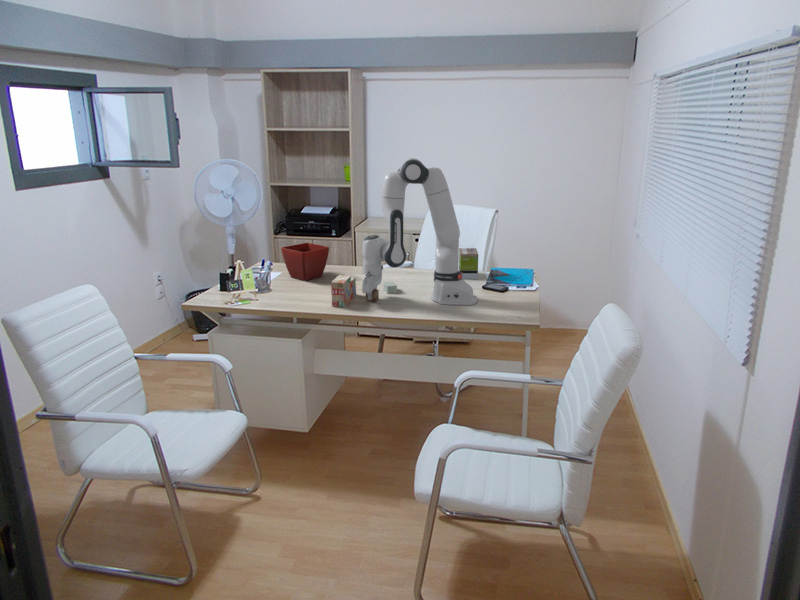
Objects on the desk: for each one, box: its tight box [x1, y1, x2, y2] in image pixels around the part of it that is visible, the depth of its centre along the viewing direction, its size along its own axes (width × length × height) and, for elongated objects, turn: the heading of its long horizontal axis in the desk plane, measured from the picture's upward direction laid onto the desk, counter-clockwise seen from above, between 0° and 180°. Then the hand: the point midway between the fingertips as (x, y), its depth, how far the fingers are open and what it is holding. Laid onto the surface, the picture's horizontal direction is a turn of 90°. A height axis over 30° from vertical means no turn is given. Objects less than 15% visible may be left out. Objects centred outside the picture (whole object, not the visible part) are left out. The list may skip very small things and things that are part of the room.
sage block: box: [382, 281, 398, 295], centre depth 301 cm, size 5×8×4 cm, turn 17°
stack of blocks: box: [330, 274, 357, 308], centre depth 284 cm, size 21×6×12 cm, turn 170°
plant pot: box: [280, 242, 330, 281], centre depth 324 cm, size 19×19×17 cm
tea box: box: [458, 247, 479, 280], centre depth 328 cm, size 15×10×15 cm, turn 178°
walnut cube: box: [365, 288, 380, 303], centre depth 285 cm, size 5×5×5 cm
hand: (372, 297), depth 285 cm, fingers closed on walnut cube, 5 cm apart
